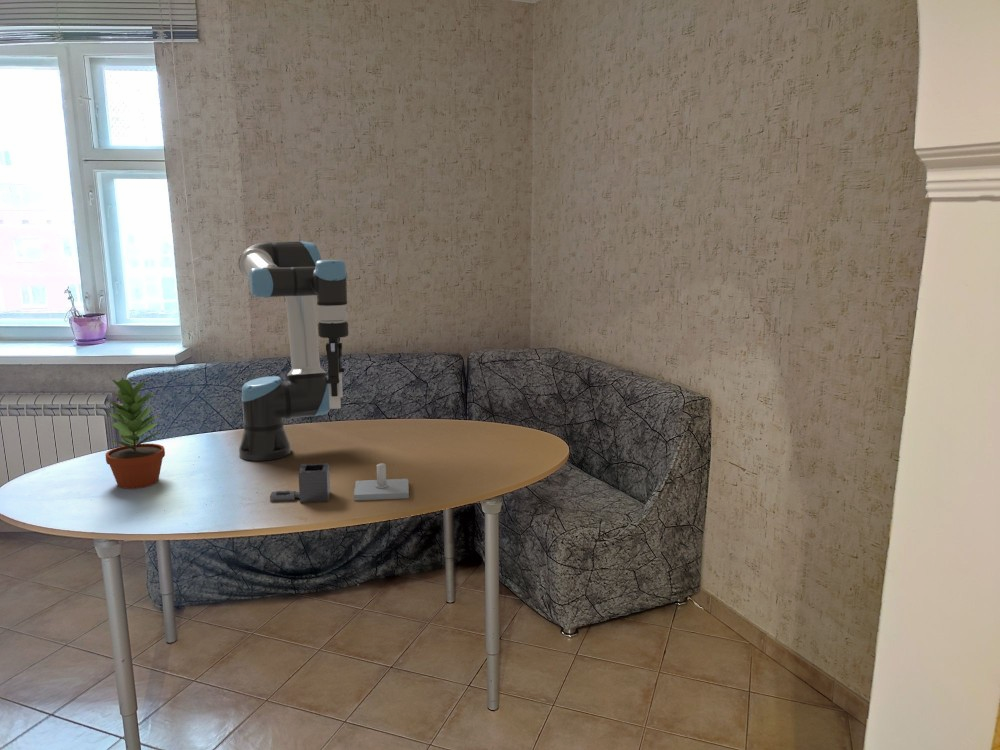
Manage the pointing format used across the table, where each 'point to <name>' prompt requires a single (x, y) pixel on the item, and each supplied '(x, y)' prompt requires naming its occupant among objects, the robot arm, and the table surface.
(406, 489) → the keeper
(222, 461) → the table surface
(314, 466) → the grey square socket
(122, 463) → the potted plant
